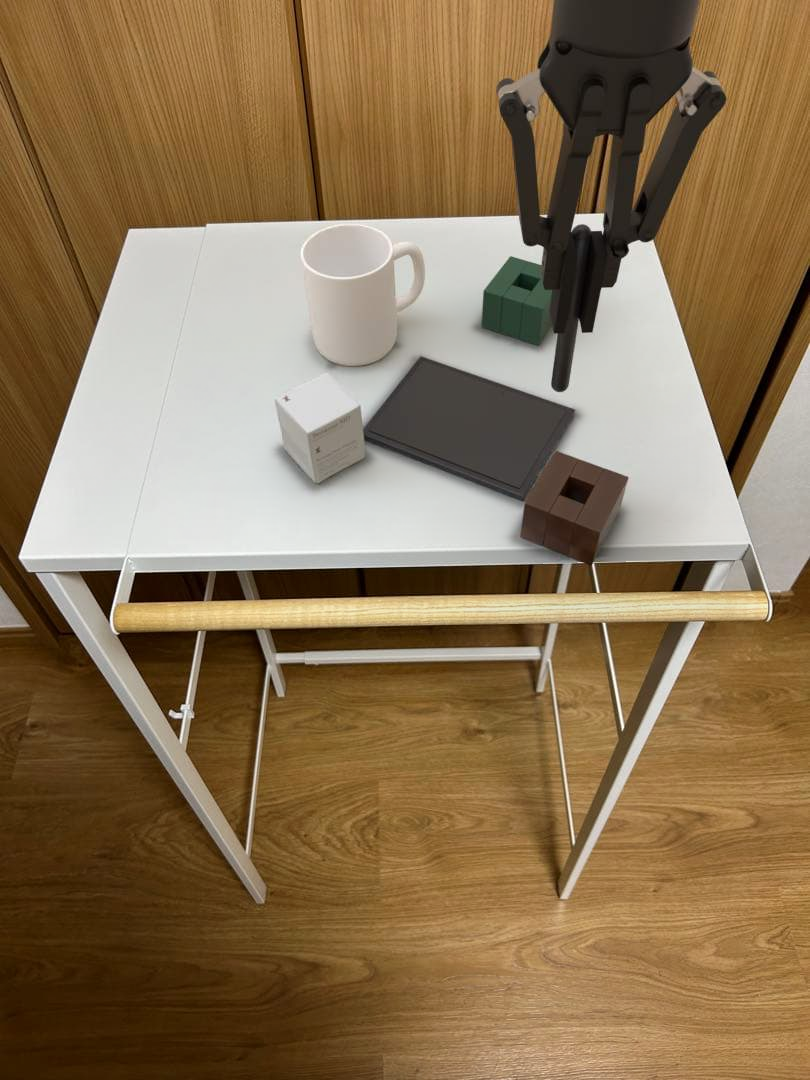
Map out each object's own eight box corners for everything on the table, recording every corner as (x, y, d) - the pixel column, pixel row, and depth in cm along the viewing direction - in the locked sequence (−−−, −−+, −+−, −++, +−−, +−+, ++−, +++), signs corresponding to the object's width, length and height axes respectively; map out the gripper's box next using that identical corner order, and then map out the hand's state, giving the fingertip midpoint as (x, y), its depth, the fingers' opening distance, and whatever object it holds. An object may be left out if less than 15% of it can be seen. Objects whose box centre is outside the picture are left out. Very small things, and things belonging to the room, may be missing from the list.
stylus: (570, 387, 67) (596, 223, 56) (564, 397, 66) (588, 232, 55) (554, 382, 67) (576, 218, 57) (547, 392, 66) (568, 227, 56)
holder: (619, 511, 78) (629, 476, 74) (591, 566, 74) (600, 532, 70) (549, 485, 80) (555, 450, 76) (519, 537, 76) (524, 502, 72)
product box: (315, 486, 81) (306, 434, 75) (283, 449, 84) (271, 396, 78) (367, 457, 83) (362, 404, 77) (334, 423, 86) (326, 369, 80)
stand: (562, 309, 96) (568, 272, 91) (538, 346, 92) (543, 309, 88) (507, 292, 98) (510, 255, 94) (481, 327, 94) (483, 290, 90)
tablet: (574, 414, 86) (575, 408, 85) (522, 501, 79) (523, 495, 78) (420, 360, 91) (420, 355, 90) (360, 437, 85) (359, 432, 84)
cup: (300, 330, 95) (285, 240, 85) (405, 291, 98) (402, 201, 89) (336, 379, 90) (324, 290, 80) (445, 336, 93) (446, 246, 84)
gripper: (757, -86, 44) (658, 285, 63) (486, -76, 44) (469, 291, 63) (799, -29, 40) (679, 352, 59) (498, -18, 40) (476, 358, 59)
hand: (570, 320), depth 61 cm, fingers closed on stylus
